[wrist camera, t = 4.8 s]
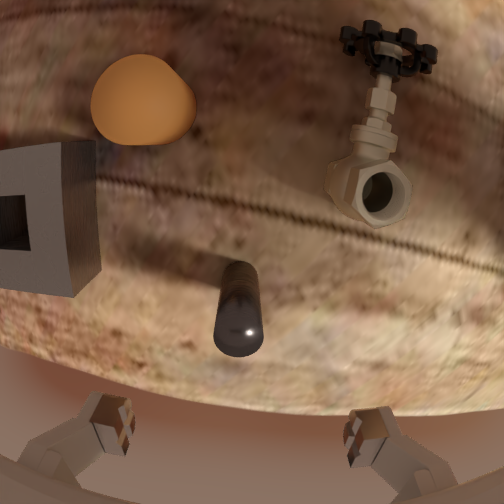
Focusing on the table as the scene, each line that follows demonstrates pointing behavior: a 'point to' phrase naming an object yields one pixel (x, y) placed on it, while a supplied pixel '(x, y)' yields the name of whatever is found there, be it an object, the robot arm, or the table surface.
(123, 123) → the orange rounded tapered piece
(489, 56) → the table surface
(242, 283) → the cylinder
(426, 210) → the table surface
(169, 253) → the table surface
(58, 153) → the bore block
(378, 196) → the valve
